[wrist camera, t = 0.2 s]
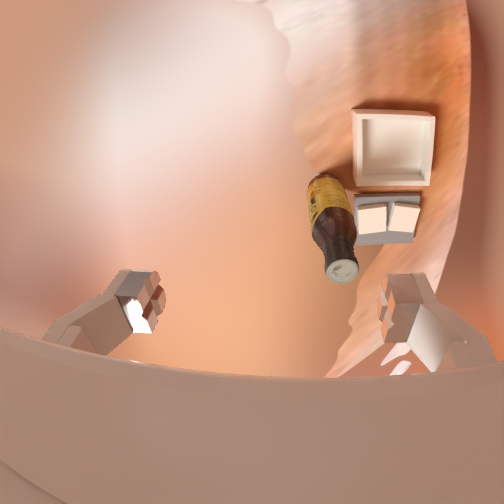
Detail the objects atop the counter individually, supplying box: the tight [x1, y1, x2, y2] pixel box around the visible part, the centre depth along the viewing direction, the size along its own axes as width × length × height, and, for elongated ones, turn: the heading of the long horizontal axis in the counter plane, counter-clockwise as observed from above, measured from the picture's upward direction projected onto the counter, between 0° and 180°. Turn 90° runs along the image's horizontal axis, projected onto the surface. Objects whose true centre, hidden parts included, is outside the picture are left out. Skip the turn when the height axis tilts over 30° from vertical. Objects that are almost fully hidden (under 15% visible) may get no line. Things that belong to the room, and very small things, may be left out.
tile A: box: [357, 203, 386, 235], centre depth 50 cm, size 5×5×1 cm
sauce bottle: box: [307, 174, 359, 284], centre depth 42 cm, size 6×6×20 cm
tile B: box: [387, 202, 420, 233], centre depth 49 cm, size 5×5×1 cm
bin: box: [352, 109, 435, 187], centre depth 42 cm, size 12×13×4 cm
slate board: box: [353, 193, 420, 246], centre depth 51 cm, size 10×12×1 cm
